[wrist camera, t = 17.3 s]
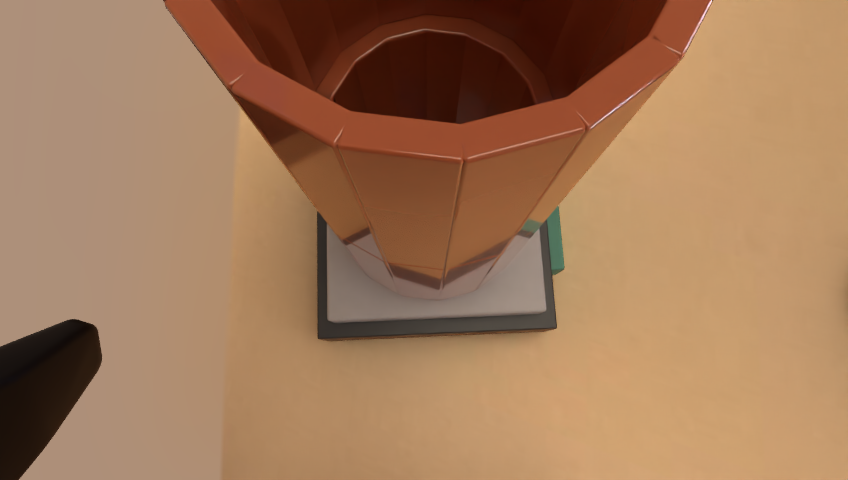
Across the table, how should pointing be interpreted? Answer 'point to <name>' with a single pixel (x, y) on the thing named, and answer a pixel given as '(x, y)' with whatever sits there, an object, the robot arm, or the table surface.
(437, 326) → the scale
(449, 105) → the terracotta tube
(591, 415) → the table surface
